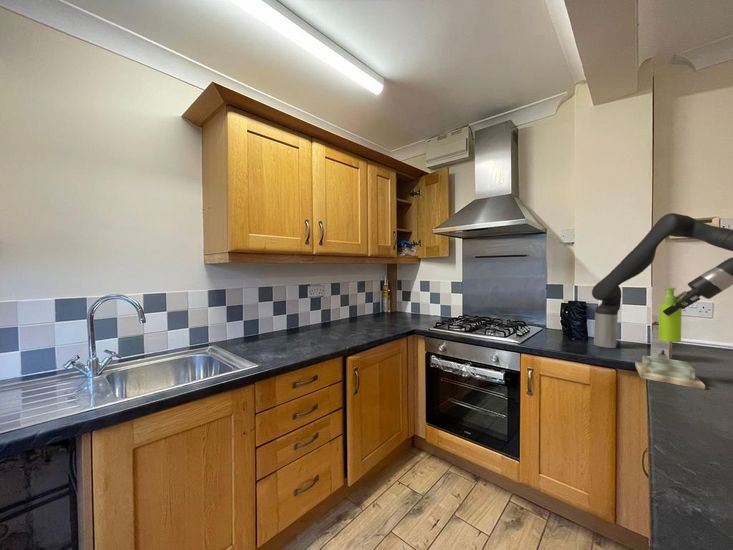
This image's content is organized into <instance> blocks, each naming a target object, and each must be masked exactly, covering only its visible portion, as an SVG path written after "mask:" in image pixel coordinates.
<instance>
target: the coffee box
mask: <svg viewBox="0 0 733 550" xmlns="http://www.w3.org/2000/svg"><path fill="white" fill-rule="evenodd" d="M650 340H651V341H650V356H651V357H658V358H665V359H672V358H673V342H671V341H664V340H660V339H659V321H654V322H652V323H651V336H650Z"/></svg>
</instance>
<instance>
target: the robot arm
mask: <svg viewBox="0 0 733 550" xmlns="http://www.w3.org/2000/svg"><path fill="white" fill-rule="evenodd" d="M668 236H669V237H674V238H688V239H695V240H699V241H702V242H705V243H707V244H708V245H711V246H713V247H716V248H720V249H723V250H727V251H730V252H733V229H730V228H727V227H720V226H715V225H712V224H707V223H705V222H702V221H700V220H698V219H695V218H694V217H692V216H689V215H685V214H680V213H674V212H673V213H672V212H671V213H666V214H665V215H663V216H662V217H660V218H659V219H658V220H657V222H656V223H655V224H654V225H653V226H652V227H651V229H650V230H649V231H648V233H647V234H646V235H645V236H644V238H642V239H641V241H640V242H639V243H638V244H637V245H636V246H635V247H634V248H633V249H632V250H631V251H630V252H629V253H628V254H627V255H626V256H625V257H624V258H623V259H622V260H621V261H620V263H619V264H617V265H616V266H615V267H614V269H612V270H611V271H610V273H608V274H607V275H606V276H604V277H603V278H602V279H601V280H599V281H598V282H597V283H596V284H595V285H594V286H593V288H592V290H591V296H592V298H593V299H595V300H597V301H601V303H600V304H599V305H598V306H596V307H595V310H594V311H595V312H594V327H593V328H594V331H593V332H594V333H593V346H597V347H601V348H606V349H615V348H617V340H618V339H617V336H618V320H619V318H618V315H619V310H620V309H621V302H622V290H621V287H620V285H622V284H623V283H625V282H627V281H629V280H631V279H632V278H635V277H636V276H638V275H640V274H641V273H643V272H644V271H645V270H646V269H648V267H650V266H651V264H652V263H653V262H654V260H655V256H656V251H657V249H658V246H659V245H660V244H661V243H662V242H663V241H664V240H665V239H666V238H667V237H668ZM687 286H688V287H689V288H690V290H688V291H686V290H685V291H682V292H681V293H680V294H678V295H677V296H676V297H677V302H676V303H674V304H673V305H674V306H673V305H671V306H670V307H668V308H667V309H665V310H663V313H665V314H666V315H667V316H669V315H671V314H673V313H674V312H676V311H677V310H678V309H679V310H680V309H682V310H684V309H686V308H688V307H689V306H691V305H694V303H696V302H698V301H700V300H701V297H702V298H705V299H707V300H710V299H712V298H714V297H715V296H717V295H719V294H720V293H722V292H724V291H725V290H727V289H729V288H730V287H731V286H733V256H732V257H729V258H726V259H725V260H724V261H722V262H721V263H719V264H718V265H716V266H715V267H713V268H711V269H709V270H707V271H705V272H704V273H702V274H701V275H699V276H697V277H696V278H694V279H693V280H691V281H689V282H688V283H687Z"/></svg>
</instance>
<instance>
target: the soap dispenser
mask: <svg viewBox="0 0 733 550" xmlns="http://www.w3.org/2000/svg"><path fill="white" fill-rule="evenodd" d="M663 290H667V292H666V293H667V294H666V295H664V296H663V304H659V305H658V322H659V339H660V340H664V341H671V342H672V343H673V342H674V343H681V342H682V310H683V309H680V310H679V309H678V310H677V311H676V312H674V313H673V314H671V315H669V316H667V315H666V314H665V313H663V310H665V309H667V308H668V307H670V306H671V305H673V304H674V303H676V302H677V296H676V295H674V294H675V293H674V292H675V290H676V287H670V286H669V287H667V286H665V287H663ZM673 306H674V305H673Z"/></svg>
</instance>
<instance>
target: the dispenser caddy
mask: <svg viewBox="0 0 733 550" xmlns="http://www.w3.org/2000/svg"><path fill="white" fill-rule="evenodd" d="M641 357H642V362H637V361H635V362H634V365H635V368H636V371H637V373H638V375H639V378H640V379H644V380H649V381H656V382H661V383H662V382H663V383H666V384H667V383H668V384H671V385H672V384H673V385H679V386H685V387H689V388H694V389H699V390H705V389H706V385H705V384H704V382H703V381H701V379H700V378H699V377H698V376H697V375H696V369H695V368H694V367H693V366H692V365H691V364H690V363H689V362H688V361H684V360H679V359H678V360H677V359H672V358H671V359H665V358H658V357H651V355H642V356H641Z"/></svg>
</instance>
